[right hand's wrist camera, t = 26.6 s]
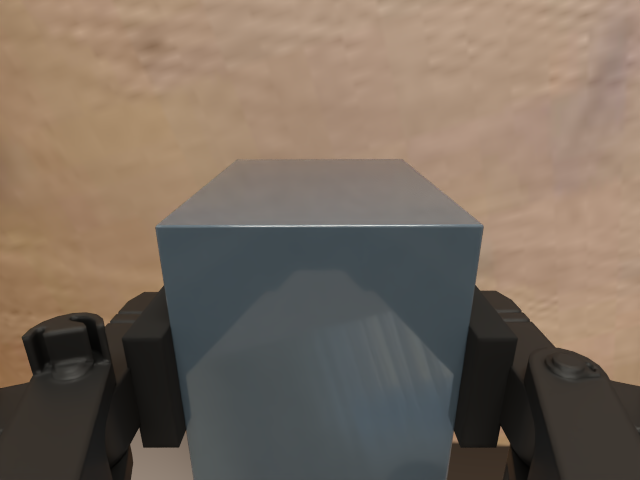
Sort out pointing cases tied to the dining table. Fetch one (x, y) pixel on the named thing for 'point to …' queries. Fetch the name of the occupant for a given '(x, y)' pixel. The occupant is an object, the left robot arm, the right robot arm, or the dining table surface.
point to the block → (319, 319)
